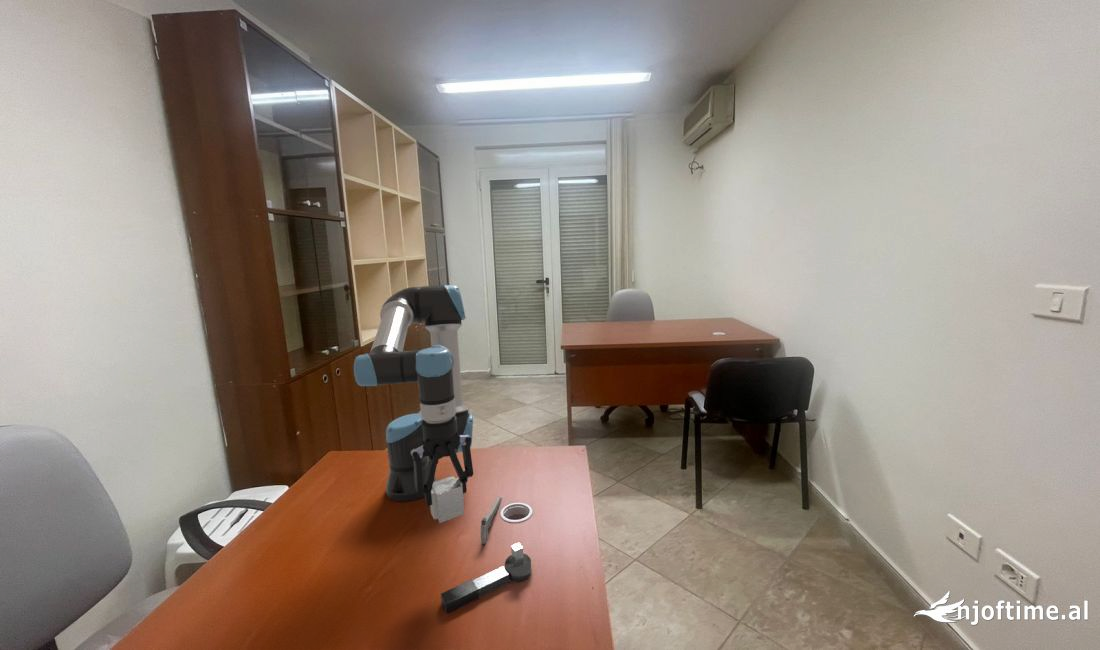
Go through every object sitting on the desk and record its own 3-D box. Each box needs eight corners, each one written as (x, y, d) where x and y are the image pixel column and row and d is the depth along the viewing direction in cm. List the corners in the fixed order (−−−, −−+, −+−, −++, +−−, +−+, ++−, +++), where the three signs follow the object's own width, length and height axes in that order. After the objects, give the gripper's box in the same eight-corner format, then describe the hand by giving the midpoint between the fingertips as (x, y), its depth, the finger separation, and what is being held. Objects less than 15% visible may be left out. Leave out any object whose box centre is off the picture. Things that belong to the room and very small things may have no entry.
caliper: (485, 546, 104) (484, 523, 103) (481, 546, 104) (479, 523, 103) (502, 498, 124) (501, 479, 123) (498, 498, 124) (497, 479, 123)
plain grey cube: (432, 510, 96) (429, 483, 95) (455, 502, 99) (453, 475, 98) (439, 523, 91) (436, 494, 90) (463, 514, 94) (461, 486, 93)
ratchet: (439, 598, 88) (437, 571, 87) (523, 558, 98) (522, 534, 97) (448, 618, 83) (446, 590, 82) (536, 574, 93) (534, 549, 92)
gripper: (399, 434, 83) (410, 535, 87) (484, 412, 93) (491, 504, 97) (391, 422, 89) (402, 517, 94) (472, 403, 99) (478, 489, 103)
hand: (447, 510), depth 95 cm, fingers closed on plain grey cube, 6 cm apart
